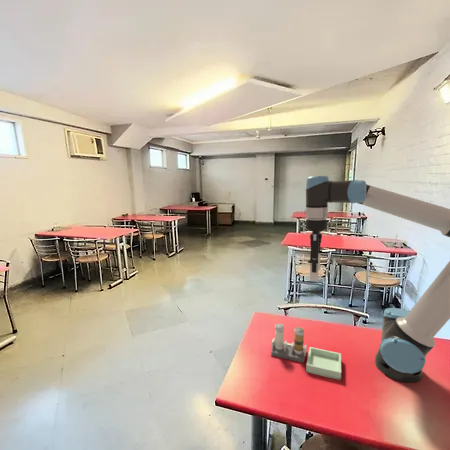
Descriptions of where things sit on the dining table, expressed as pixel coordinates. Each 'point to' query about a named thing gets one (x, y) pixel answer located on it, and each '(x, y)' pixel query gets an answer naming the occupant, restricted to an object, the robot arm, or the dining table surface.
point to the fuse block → (288, 352)
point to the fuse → (279, 337)
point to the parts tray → (324, 363)
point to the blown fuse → (298, 340)
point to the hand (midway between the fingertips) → (315, 274)
